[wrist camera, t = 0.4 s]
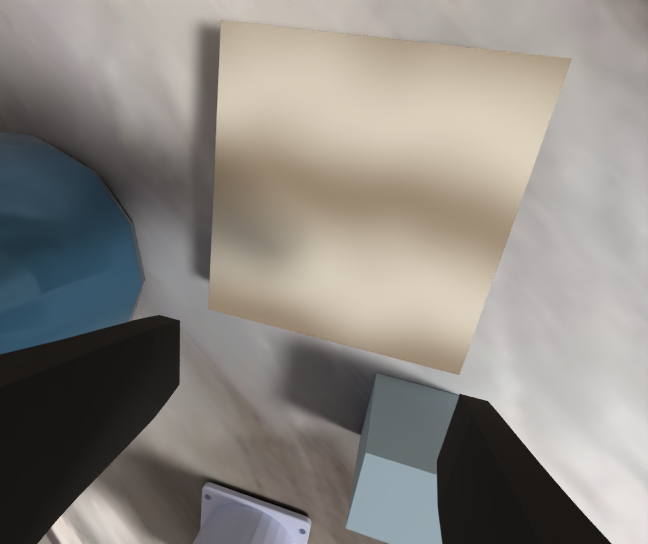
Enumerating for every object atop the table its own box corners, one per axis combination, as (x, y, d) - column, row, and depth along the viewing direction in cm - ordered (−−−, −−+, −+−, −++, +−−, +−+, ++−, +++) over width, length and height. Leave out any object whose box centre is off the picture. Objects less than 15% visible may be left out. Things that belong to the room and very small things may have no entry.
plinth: (451, 345, 17) (459, 375, 15) (232, 290, 19) (208, 309, 17) (541, 77, 13) (571, 58, 10) (249, 42, 15) (220, 20, 12)
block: (437, 458, 19) (449, 564, 14) (360, 434, 20) (345, 528, 15) (460, 395, 18) (483, 489, 13) (376, 372, 18) (365, 452, 13)
